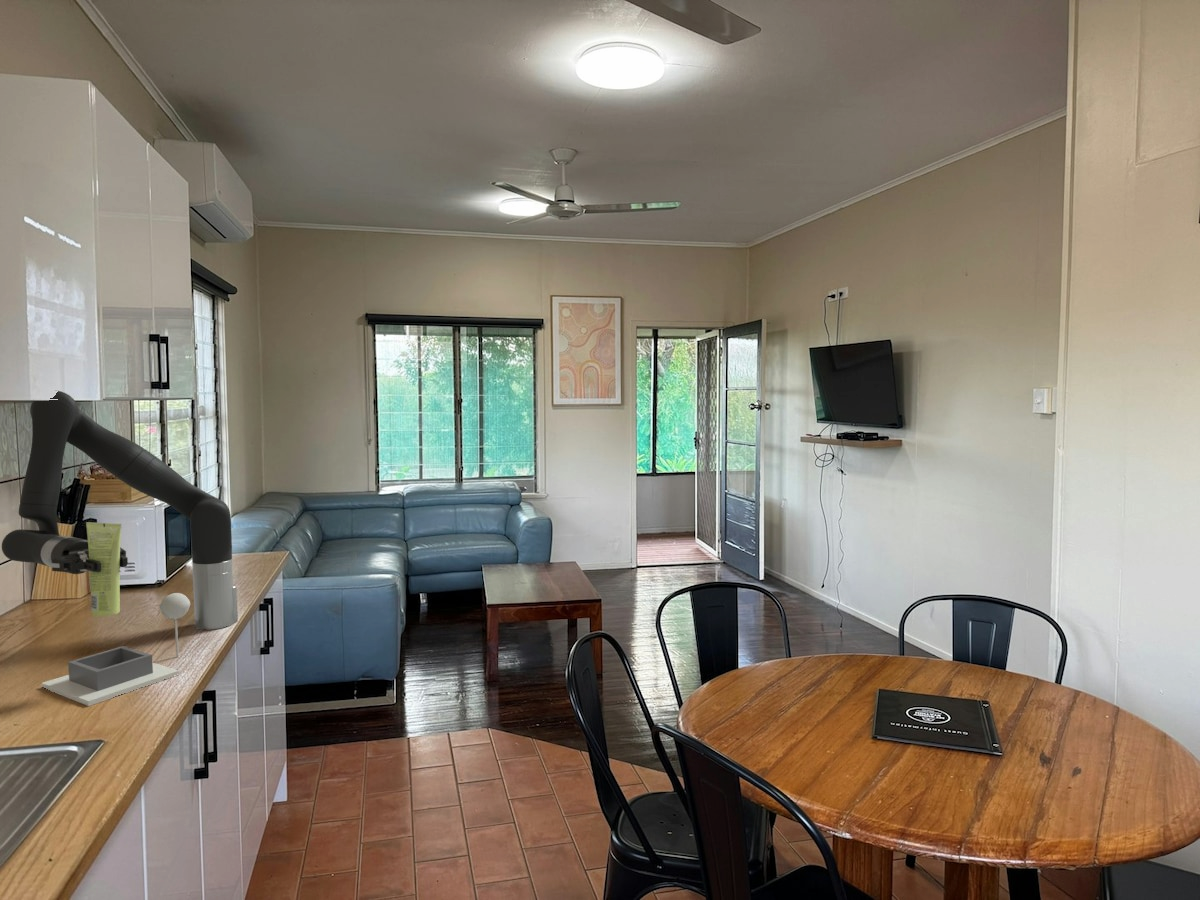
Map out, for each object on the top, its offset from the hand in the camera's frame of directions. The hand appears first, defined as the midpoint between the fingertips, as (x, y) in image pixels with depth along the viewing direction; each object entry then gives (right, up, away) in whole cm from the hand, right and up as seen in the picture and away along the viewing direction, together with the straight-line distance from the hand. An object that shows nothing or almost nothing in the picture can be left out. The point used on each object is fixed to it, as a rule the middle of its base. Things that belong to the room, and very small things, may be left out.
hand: (112, 564), depth 154 cm
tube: (-3, -11, +2) cm, 12 cm away
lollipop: (+3, -24, +18) cm, 30 cm away
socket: (-2, -25, +4) cm, 26 cm away
